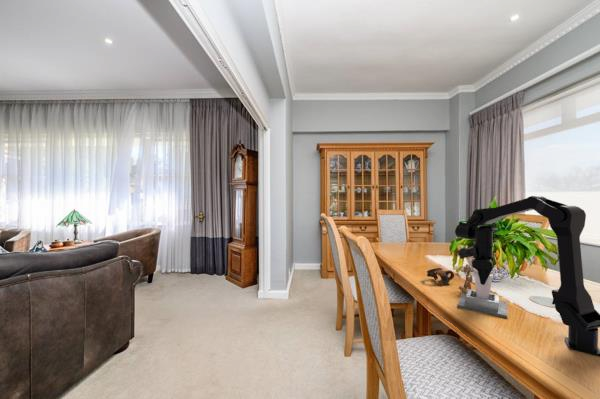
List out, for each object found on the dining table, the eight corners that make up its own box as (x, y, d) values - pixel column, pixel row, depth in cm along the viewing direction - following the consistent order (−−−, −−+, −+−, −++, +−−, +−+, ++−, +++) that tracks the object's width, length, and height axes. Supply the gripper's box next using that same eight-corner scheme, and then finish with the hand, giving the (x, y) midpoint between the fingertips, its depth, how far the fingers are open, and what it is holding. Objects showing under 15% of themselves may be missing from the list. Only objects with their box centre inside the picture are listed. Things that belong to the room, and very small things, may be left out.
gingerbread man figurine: (476, 295, 114) (477, 267, 113) (466, 294, 115) (467, 266, 114) (468, 288, 122) (468, 262, 122) (459, 287, 123) (459, 261, 123)
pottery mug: (433, 286, 125) (426, 269, 129) (429, 289, 134) (423, 273, 138) (460, 281, 124) (452, 264, 128) (454, 284, 132) (447, 268, 136)
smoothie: (496, 302, 99) (496, 265, 99) (477, 301, 100) (477, 264, 100) (487, 296, 105) (488, 261, 105) (470, 295, 106) (470, 260, 106)
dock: (507, 318, 92) (507, 307, 92) (457, 307, 101) (457, 296, 101) (506, 304, 104) (506, 294, 104) (461, 295, 113) (462, 286, 113)
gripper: (461, 236, 115) (461, 273, 115) (456, 242, 100) (455, 284, 100) (493, 239, 108) (493, 277, 108) (492, 246, 93) (492, 290, 93)
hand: (483, 282), depth 103 cm, fingers closed on smoothie, 6 cm apart
